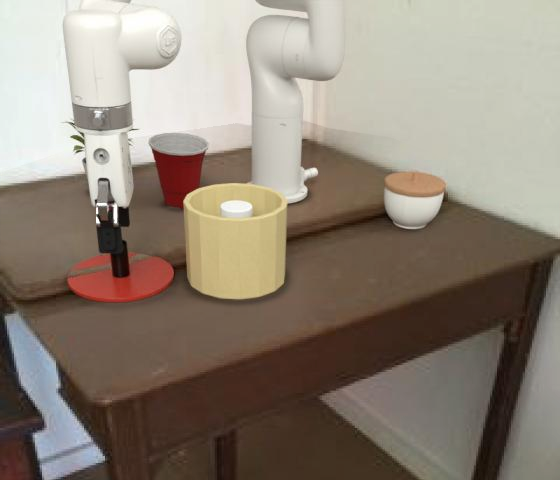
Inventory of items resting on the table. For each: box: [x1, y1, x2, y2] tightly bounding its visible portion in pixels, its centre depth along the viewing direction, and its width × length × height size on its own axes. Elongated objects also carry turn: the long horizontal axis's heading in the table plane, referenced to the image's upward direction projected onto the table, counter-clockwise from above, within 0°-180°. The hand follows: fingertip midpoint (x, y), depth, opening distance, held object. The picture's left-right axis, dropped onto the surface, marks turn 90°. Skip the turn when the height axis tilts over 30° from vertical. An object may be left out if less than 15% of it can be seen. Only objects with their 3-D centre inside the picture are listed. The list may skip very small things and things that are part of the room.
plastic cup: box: [148, 132, 210, 211], centre depth 129 cm, size 11×11×12 cm
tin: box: [183, 182, 288, 300], centre depth 103 cm, size 15×15×12 cm
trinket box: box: [383, 170, 447, 230], centre depth 125 cm, size 11×11×9 cm
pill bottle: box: [220, 200, 253, 218], centre depth 104 cm, size 6×6×11 cm
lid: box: [66, 239, 175, 303], centre depth 104 cm, size 16×16×6 cm
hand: (115, 238), depth 101 cm, fingers open, 9 cm apart
